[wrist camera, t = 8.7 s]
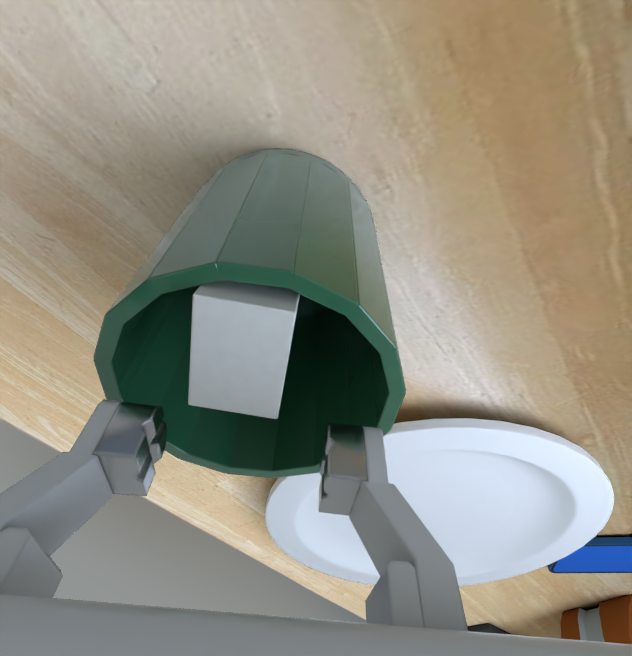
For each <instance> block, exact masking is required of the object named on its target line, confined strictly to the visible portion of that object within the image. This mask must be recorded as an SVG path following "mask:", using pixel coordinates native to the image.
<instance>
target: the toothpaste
mask: <svg viewBox="0 0 632 656" xmlns="http://www.w3.org/2000/svg"><path fill="white" fill-rule="evenodd" d="M299 298H300V294H299V293H297V292H294V291H292V290H290V289H288V288H281V287H272V286H264V285H256V284H247V283H239V282H230V281H222V280H220V281H216V282H212V283H207V284H203V285H201V286H200V287H199V288H198V289H197V290H196V291H195V293H194V294H193V301H192V324H191V347H190V370H189V393H188V404H189V405H192V406H199V407H205V408H211V409H217V410H223V411H229V412H235V413H242V414H248V415H254V416H260V417H266V418H272V419H277V418H278V415H279V409H280V404H281V398H282V392H283V387H284V381H285V376H286V370H287V365H288V359H289V354H290V348H291V342H292V337H293V331H294V326H295V320H296V315H297V309H298V304H299Z"/></svg>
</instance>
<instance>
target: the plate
mask: <svg viewBox="0 0 632 656" xmlns="http://www.w3.org/2000/svg"><path fill="white" fill-rule="evenodd" d="M383 440H384V448H385V456H386V465H387V473H388V481H389V484H394V485H395V486H396V487H397V489H398V490H399V491H400V493H401V494H402V495H403V497H404V498H405V499H406V501H407V502H408V503H409V505H410V506H411V508H412V509H413V510H414V512H415V513H416V514H417V516H418V517H419V518H420V520H421V521H422V522H423V524H424V525H425V526H426V528H427V529H428V530H429V532H430V533H431V534H432V536H433V537H434V539H435V540H436V541H437V543H438V544H439V545H440V547H441V548H442V549H443V551H444V552H445V553H446V555H447V556H448V557H449V559H450V560H451V561H452V563H453V564H454V568H455V572H456V577H457V582H458V586H466V585H473V584H480V583H486V582H491V581H496V580H501V579H505V578H510V577H513V576H517V575H520V574H524V573H527V572H530V571H533V570H536V569H539V568H541V567H544V566H547V565H549V564H551V563H554V562H556V561H558V560H560V559H562V558H564V557H566V556H568V555H570V554H571V553H573V552H575V551H576V550H578V549H580V548H581V547H583V546H584V545H585V544H586V543H588V542H589V541H590V540H591V539H593V538H594V537H595V536H596V535H597V534H598V533H599V531H600V530H601V529H602V528H603V527H604V526H605V524H606V523H607V521H608V519H609V517H610V515H611V513H612V509H613V502H614V494H613V490H612V486H611V482H610V481H609V479H608V477H607V475H606V474H605V472H604V471H603V469H602V468H601V466H600V465H599V463H598V462H597V460H595V459H594V458H593V457H592V456H591V455H589V454H588V453H587V452H586V451H585V450H584V449H582V448H581V447H579V446H577V445H575V444H574V443H572V442H570V441H568V440H566V439H564V438H562V437H560V436H558V435H555V434H552V433H549V432H546V431H543V430H540V429H537V428H534V427H529V426H524V425H519V424H514V423H509V422H504V421H494V420H483V419H472V418H450V419H427V420H418V421H409V422H400V423H395V424H393V427H392V429H391V431H389V432H388V433H387V434H386V435H385V436H384V437H383ZM321 478H322V476H321V475H320V472H319V473H313V474H305V475H297V476H289V477H281V478H278V479H277V481H276V482H275V483H274V485H273V486H272V488H271V490H270V493H269V496H268V498H267V501H266V508H265V522H266V525H267V529H268V532H269V534H270V536H271V537H272V539H273V540H274V542H275V543H276V545H278V546H279V547H280V548H281V549H282V550H283V551H284V552H285V553H286V554H287V555H289V556H290V557H292V558H293V559H295V560H296V561H298V562H299V563H301V564H303V565H305V566H307V567H309V568H311V569H314V570H316V571H319V572H322V573H324V574H327V575H330V576H333V577H337V578H341V579H344V580H348V581H353V582H358V583H363V584H370V585H376V583H377V581H378V580H379V578H380V575H379V573H378V571H377V570H376V568H375V566H374V564H373V562H372V560H371V558H370V556H369V554H368V553H367V551H366V549H365V547H364V545H363V543H362V541H361V539H360V537H359V536H358V534H357V532H356V530H355V528H354V526H353V524H352V522H351V520H350V519H349V516H347V515H339V514H330V513H322V512H319V486H320V482H321Z"/></svg>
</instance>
